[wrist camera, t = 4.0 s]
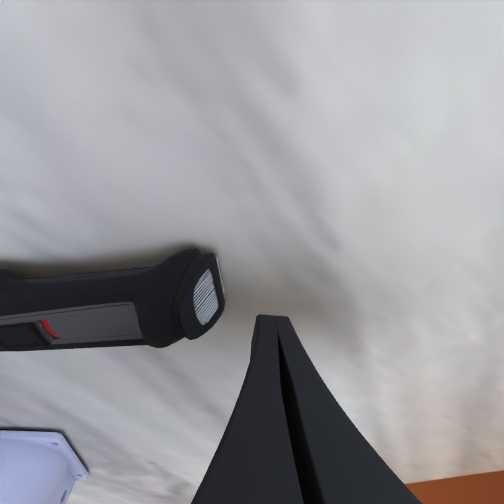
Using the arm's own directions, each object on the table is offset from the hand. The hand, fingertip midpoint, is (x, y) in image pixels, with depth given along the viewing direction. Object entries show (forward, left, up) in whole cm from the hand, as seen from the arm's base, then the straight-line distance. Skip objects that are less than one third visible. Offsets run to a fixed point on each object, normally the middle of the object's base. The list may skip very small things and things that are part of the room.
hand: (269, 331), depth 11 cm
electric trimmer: (0, +10, -2) cm, 10 cm away
